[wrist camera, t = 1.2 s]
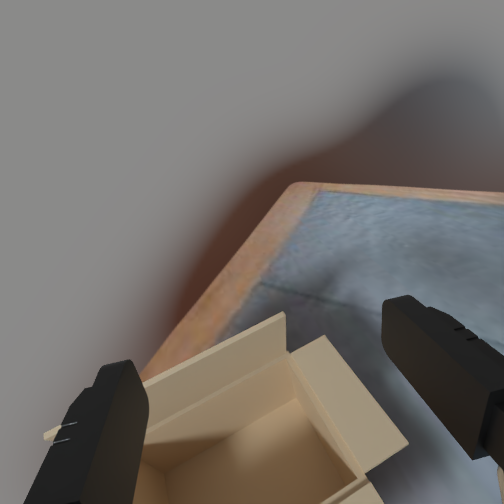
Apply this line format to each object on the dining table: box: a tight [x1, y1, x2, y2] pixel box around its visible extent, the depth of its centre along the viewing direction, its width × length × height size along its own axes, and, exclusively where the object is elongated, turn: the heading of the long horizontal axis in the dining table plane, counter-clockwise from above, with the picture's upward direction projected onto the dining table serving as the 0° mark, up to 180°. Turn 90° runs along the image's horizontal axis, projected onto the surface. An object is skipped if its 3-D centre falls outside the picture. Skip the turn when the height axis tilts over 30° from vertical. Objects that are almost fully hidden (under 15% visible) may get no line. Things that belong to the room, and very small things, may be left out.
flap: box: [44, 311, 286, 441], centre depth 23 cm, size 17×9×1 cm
